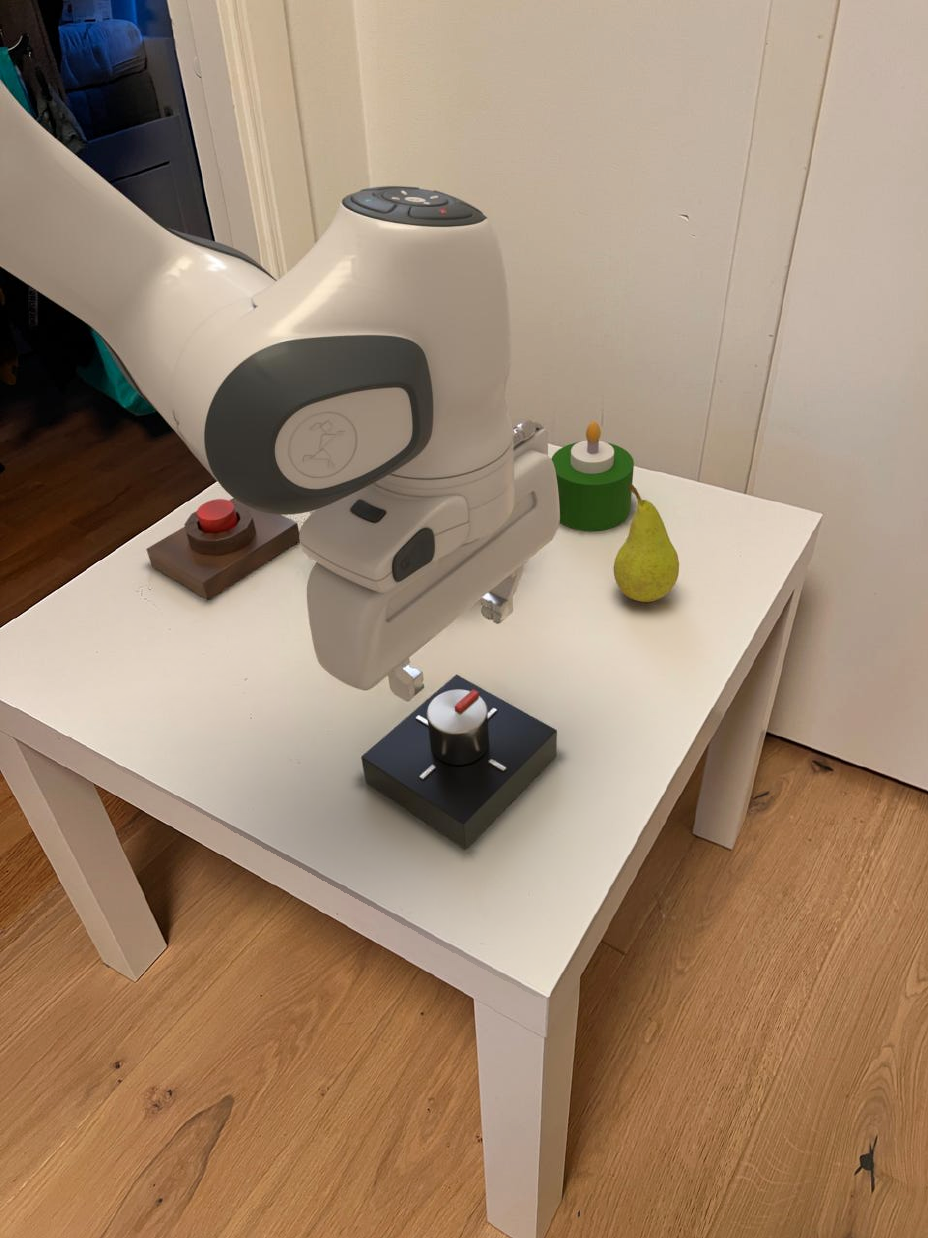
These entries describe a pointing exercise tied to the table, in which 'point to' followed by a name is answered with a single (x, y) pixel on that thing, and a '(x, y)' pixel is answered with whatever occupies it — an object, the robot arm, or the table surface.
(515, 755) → the dimmer panel
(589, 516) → the candle
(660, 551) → the fruit
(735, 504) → the table surface
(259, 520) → the lamp switch
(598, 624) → the table surface
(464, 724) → the dimmer knob
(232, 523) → the light button
